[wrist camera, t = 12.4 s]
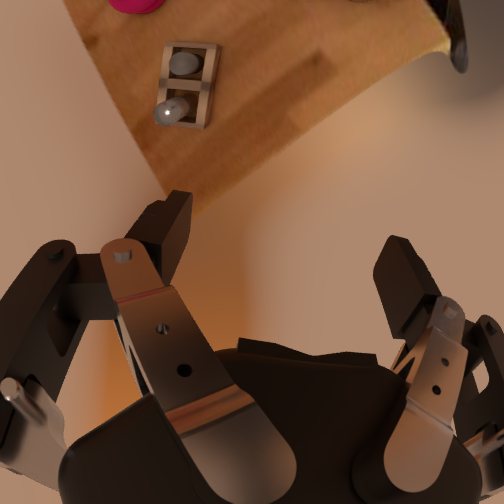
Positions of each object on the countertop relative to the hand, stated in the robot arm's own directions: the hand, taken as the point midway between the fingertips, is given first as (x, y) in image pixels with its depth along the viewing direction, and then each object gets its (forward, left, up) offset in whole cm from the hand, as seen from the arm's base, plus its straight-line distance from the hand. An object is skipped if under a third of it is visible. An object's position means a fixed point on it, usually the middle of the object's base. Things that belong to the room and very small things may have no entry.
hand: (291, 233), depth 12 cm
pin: (+1, -13, -33) cm, 36 cm away
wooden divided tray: (-2, -13, -33) cm, 36 cm away
